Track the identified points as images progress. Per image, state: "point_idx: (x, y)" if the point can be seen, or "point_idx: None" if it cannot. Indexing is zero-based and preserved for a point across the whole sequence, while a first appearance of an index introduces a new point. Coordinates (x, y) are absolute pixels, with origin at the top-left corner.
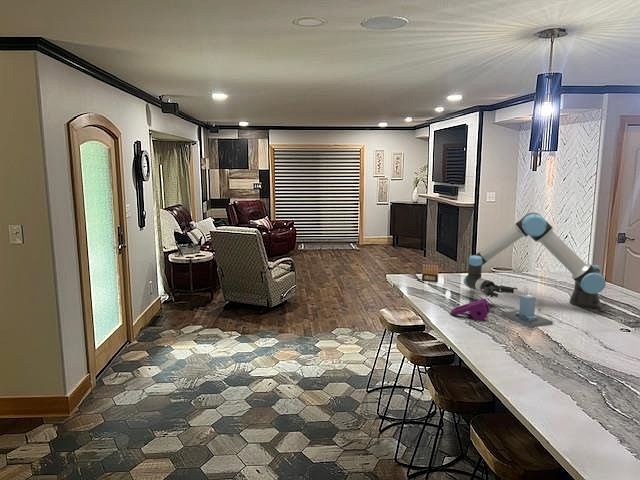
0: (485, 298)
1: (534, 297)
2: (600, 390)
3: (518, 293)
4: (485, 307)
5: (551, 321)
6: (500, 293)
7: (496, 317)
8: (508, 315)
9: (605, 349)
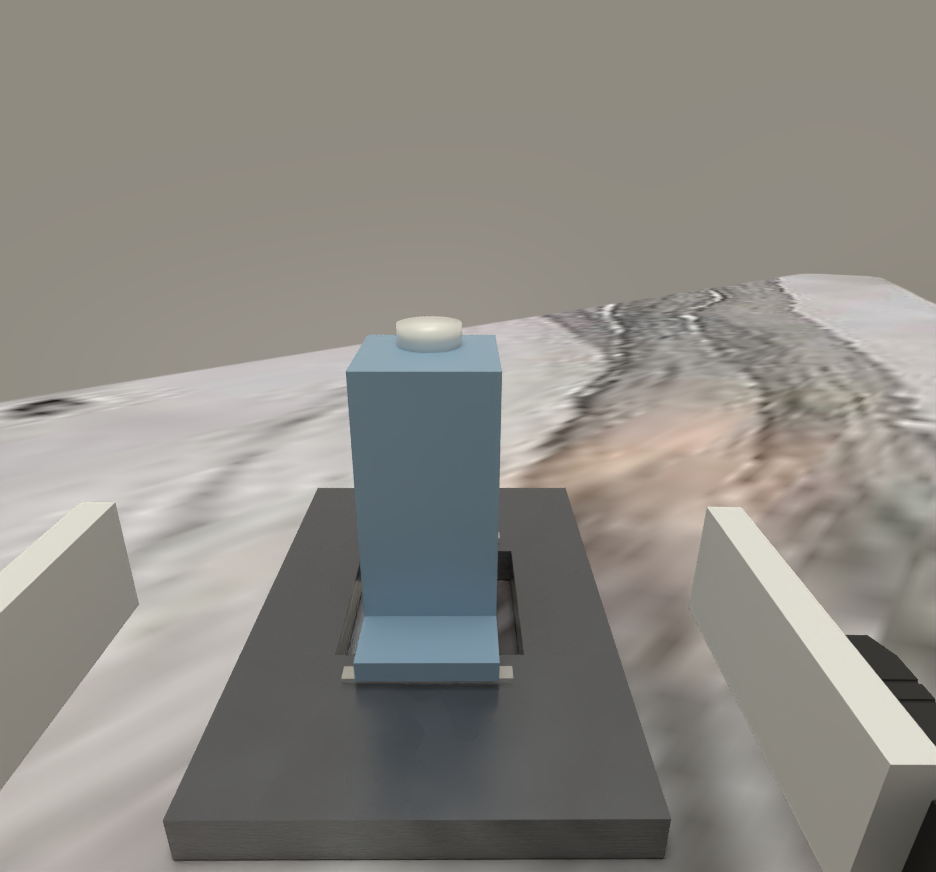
0: None
1: (386, 335)
2: (696, 309)
3: (51, 653)
4: None
5: (333, 488)
6: (758, 551)
7: None
8: (627, 685)
9: None
